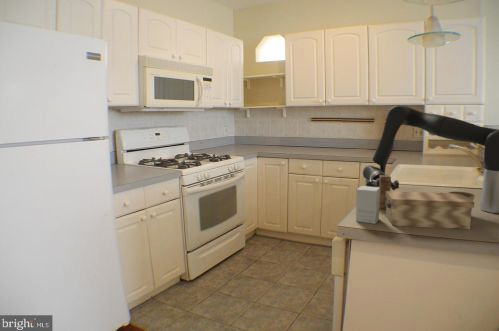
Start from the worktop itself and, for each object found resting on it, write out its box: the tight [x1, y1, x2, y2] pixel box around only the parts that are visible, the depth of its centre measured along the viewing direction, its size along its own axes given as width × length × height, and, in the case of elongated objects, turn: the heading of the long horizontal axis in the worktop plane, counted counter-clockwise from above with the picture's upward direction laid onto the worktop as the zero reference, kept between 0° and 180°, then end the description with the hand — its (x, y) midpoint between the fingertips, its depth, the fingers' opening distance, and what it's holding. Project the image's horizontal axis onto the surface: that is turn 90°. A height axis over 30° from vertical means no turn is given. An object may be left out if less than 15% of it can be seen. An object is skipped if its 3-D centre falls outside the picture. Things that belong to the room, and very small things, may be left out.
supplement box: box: [355, 185, 380, 225], centre depth 138 cm, size 7×7×13 cm
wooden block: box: [379, 174, 392, 210], centre depth 154 cm, size 4×4×14 cm
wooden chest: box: [385, 190, 475, 230], centre depth 139 cm, size 28×21×10 cm
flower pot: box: [447, 190, 476, 202], centre depth 144 cm, size 9×9×9 cm
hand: (385, 187), depth 152 cm, fingers open, 6 cm apart
